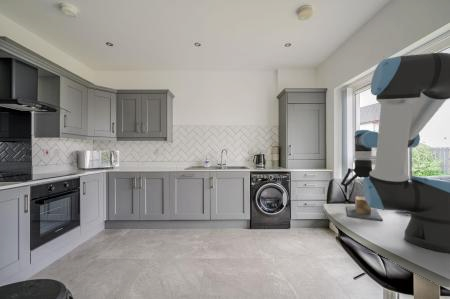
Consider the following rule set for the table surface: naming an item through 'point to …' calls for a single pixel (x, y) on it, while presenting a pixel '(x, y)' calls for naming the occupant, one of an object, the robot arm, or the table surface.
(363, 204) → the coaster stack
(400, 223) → the table surface
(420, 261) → the table surface
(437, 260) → the table surface
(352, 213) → the mat
